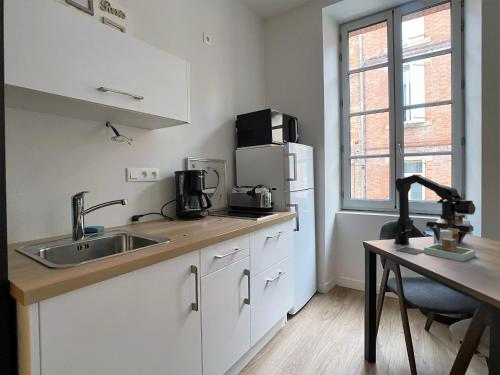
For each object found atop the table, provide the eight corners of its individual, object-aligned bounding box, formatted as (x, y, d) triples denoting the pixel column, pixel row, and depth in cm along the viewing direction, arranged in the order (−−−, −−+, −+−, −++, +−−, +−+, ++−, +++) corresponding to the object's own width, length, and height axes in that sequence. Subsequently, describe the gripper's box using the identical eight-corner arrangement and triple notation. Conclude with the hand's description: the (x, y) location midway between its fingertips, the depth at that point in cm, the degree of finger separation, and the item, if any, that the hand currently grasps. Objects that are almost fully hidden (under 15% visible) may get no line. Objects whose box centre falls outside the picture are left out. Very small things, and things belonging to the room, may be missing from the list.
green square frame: (424, 253, 139) (423, 247, 139) (437, 248, 146) (437, 243, 146) (462, 261, 124) (462, 255, 124) (475, 256, 131) (475, 250, 131)
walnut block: (441, 254, 136) (441, 239, 135) (446, 252, 138) (445, 237, 138) (452, 256, 132) (452, 240, 132) (456, 254, 134) (456, 239, 134)
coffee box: (444, 241, 161) (444, 215, 160) (441, 239, 167) (441, 213, 166) (463, 242, 158) (463, 215, 157) (458, 239, 164) (458, 214, 163)
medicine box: (447, 244, 154) (447, 229, 154) (452, 246, 150) (452, 231, 149) (433, 244, 155) (433, 229, 154) (437, 246, 150) (437, 231, 150)
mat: (396, 250, 145) (396, 249, 145) (406, 247, 150) (406, 246, 150) (415, 254, 136) (415, 253, 136) (425, 251, 141) (425, 250, 141)
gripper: (420, 212, 138) (421, 241, 139) (463, 216, 122) (463, 249, 123) (431, 210, 144) (431, 238, 144) (473, 213, 128) (473, 245, 128)
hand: (448, 242), depth 135 cm, fingers open, 9 cm apart
